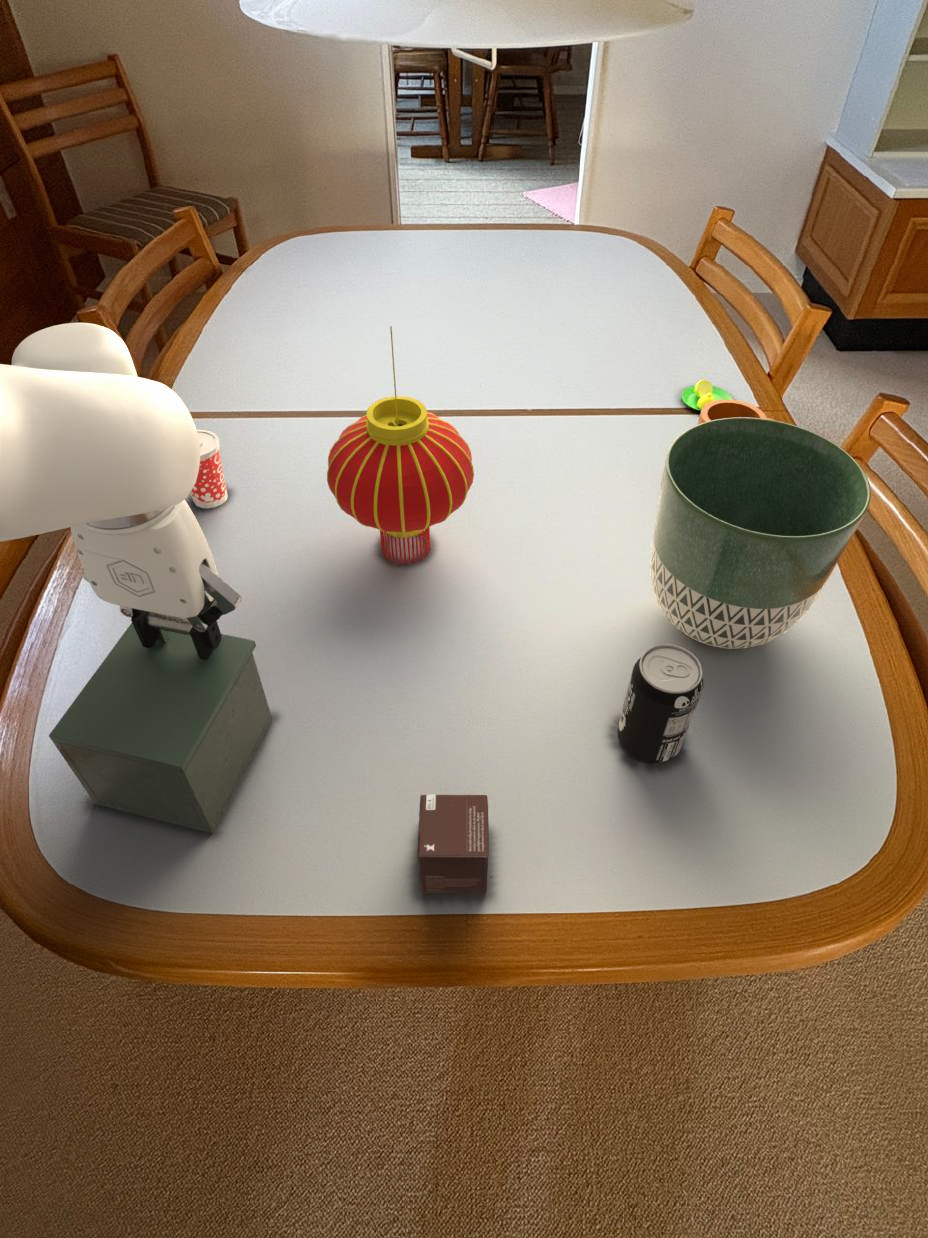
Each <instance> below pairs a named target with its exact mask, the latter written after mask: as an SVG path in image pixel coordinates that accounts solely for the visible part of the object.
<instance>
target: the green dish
mask: <svg viewBox="0 0 928 1238" xmlns="http://www.w3.org/2000/svg"><path fill="white" fill-rule="evenodd" d="M681 399H682V401H683V402H684V404H686V405H687V406H688V407H690V408H691V409H694V410H697V411H700V412H701V410H702V407H703V406H705V405H706V404H707V403H709V402H712V401H714V400H721V399H732V400H734V399H733V397H732V395H731V394H730V393H729V392H727V391H726V390H724V389H722V388H721V387H717V386H714V385H712V383H711V381H709V380H708V379H700V380H699V381H698V382H697V383H696V384H695V385H692V386H691V385H690V386H688V387H686V388H685V389H684V390H683V391H682V393H681Z"/></svg>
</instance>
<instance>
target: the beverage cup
mask: <svg viewBox="0 0 928 1238" xmlns="http://www.w3.org/2000/svg"><path fill="white" fill-rule="evenodd" d="M196 430H197V433H198V439H199V445H200V465H199V472H198V476H197V479H196V482H195V484H194V486H193V488H192V490H191V492H190V493H189V495H190V496H191V499H192V501H193V503H194V505H195V506H197V507H199V508H201V509H214V508H217V507H219V506H221V505H223V504H224V503H225V502H226V501H227V499H228V490H227V485H226V479H225V475H224V469H223V465H222V459H221V454H220V448H221V446H220V439H219V436H218V435H217V434H216V433H215V432H212V431H210V430H206V429H196Z"/></svg>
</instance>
